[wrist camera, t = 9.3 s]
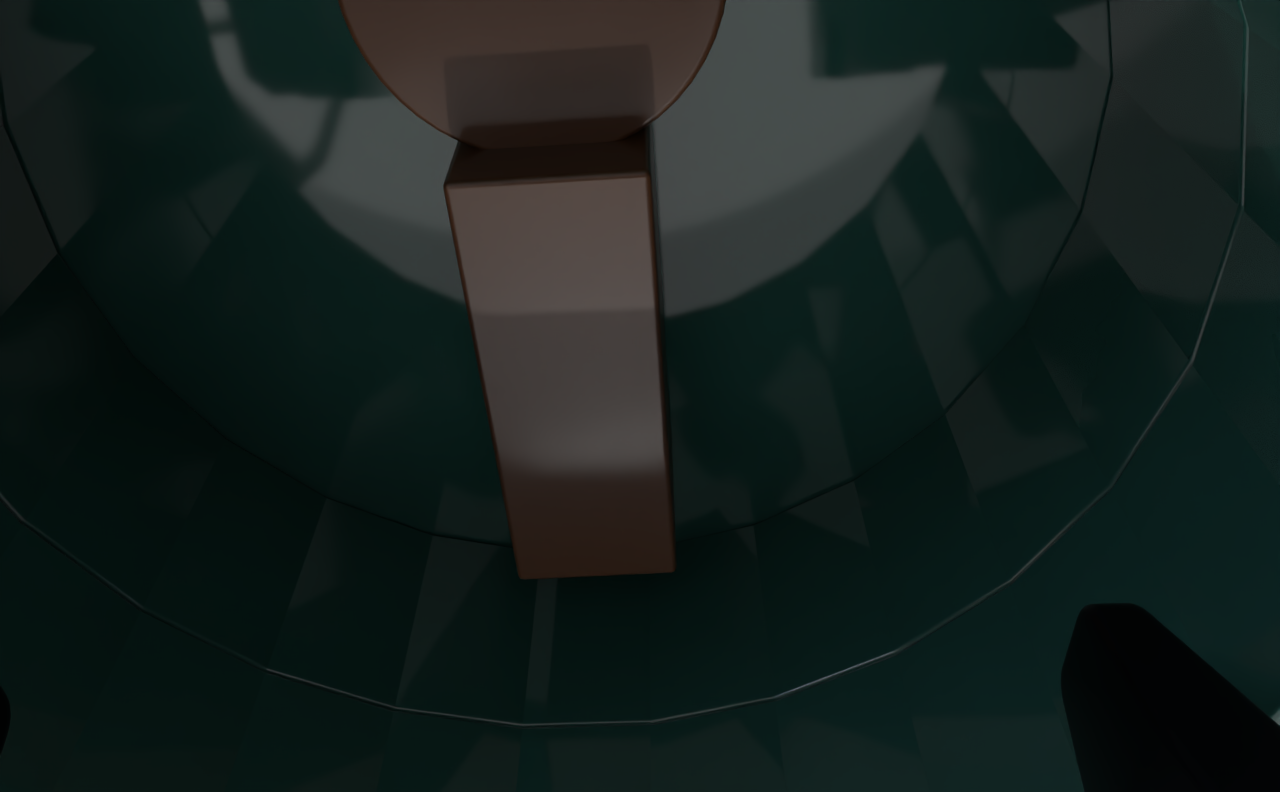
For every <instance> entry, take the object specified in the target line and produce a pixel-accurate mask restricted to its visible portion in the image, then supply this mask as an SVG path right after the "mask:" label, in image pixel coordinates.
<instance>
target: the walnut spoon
mask: <svg viewBox="0 0 1280 792" xmlns="http://www.w3.org/2000/svg"><path fill="white" fill-rule="evenodd" d="M338 2H339V6H340V9H341V13H342V15H343V17H344V20H345V22H346V24H347V27H348V29H349V31H350V34H351V36H352V38H353V40H354V42H355V43H356V45H357V47H358V48H359V50H360V52H361V54H362V55H363V57H364V59H365V61H366V62H367V63H368V65H369V66H370V67H371V69H372V70H373V71H374V73H375V74H376V75H377V77H378V78H379V80H380V81H381V82H382V83H383V84H384V85H385V86H386V87H387V89H388V90H389V91H390V92H391V93H392V94H393V95H394V96H395V97H396V98H397V99H398V100H399V101H400V102H401V103H402V104H403V105H404V106H406V107H407V108H408V109H409V110H410V111H411V112H413V113H414V114H415V115H416V116H417V117H419V118H420V119H422V120H423V121H425V122H426V123H428V124H429V125H431V126H432V127H434V128H435V129H437V130H438V131H440V132H442V133H444V134H446V135H448V136H449V137H451V138H453V139H455V140H457V141H458V142H457V145H456V148H455V151H454V154H453V157H452V160H451V163H450V166H449V169H448V172H447V175H446V178H445V181H444V185H443V190H444V195H445V200H446V205H447V211H448V216H449V221H450V226H451V231H452V236H453V242H454V247H455V252H456V257H457V262H458V267H459V273H460V278H461V283H462V288H463V293H464V298H465V304H466V309H467V314H468V319H469V324H470V330H471V335H472V340H473V345H474V350H475V355H476V361H477V366H478V371H479V376H480V381H481V386H482V392H483V397H484V402H485V407H486V412H487V417H488V423H489V428H490V433H491V438H492V443H493V448H494V454H495V459H496V464H497V469H498V474H499V479H500V485H501V490H502V495H503V500H504V505H505V510H506V516H507V521H508V526H509V531H510V536H511V542H512V547H513V552H514V557H515V562H516V567H517V573H518V576H519V578H520V579H523V580H527V579H549V578H570V577H592V576H613V575H635V574H656V573H672V572H675V570H676V567H677V559H676V533H675V507H674V481H673V458H672V442H671V425H670V409H669V393H668V377H667V361H666V345H665V329H664V313H663V297H662V281H661V265H660V249H659V233H658V217H657V201H656V185H655V169H654V153H653V137H652V122H653V121H655V120H656V119H657V118H659V117H660V116H661V115H662V114H663V113H664V112H665V111H666V110H668V109H669V108H670V107H671V106H672V105H673V104H674V103H675V102H676V101H677V100H678V99H679V98H680V96H681V95H682V94H683V93H684V91H685V90H686V89H687V88H688V86H689V85H690V84H691V83H692V82H693V80H694V78H695V77H696V75H697V74H698V72H699V70H700V69H701V67H702V66H703V64H704V62H705V61H706V59H707V56H708V54H709V52H710V50H711V48H712V45H713V43H714V41H715V39H716V36H717V33H718V30H719V27H720V23H721V20H722V17H723V14H724V9H725V3H726V0H338Z"/></svg>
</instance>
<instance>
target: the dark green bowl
mask: <svg viewBox="0 0 1280 792" xmlns="http://www.w3.org/2000/svg"><path fill="white" fill-rule="evenodd" d="M652 137H653V153H654V169H655V185H656V201H657V217H658V233H659V249H660V265H661V281H662V297H663V313H664V329H665V345H666V361H667V377H668V393H669V409H670V425H671V442H672V458H673V481H674V507H675V533H676V559H677V567H676V570H675V572H672V573H656V574H635V575H613V576H592V577H570V578H549V579H527V580H523V579H520V578H519V576H518V573H517V567H516V562H515V557H514V552H513V547H512V542H511V536H510V531H509V526H508V521H507V516H506V510H505V505H504V500H503V495H502V490H501V485H500V479H499V474H498V469H497V464H496V459H495V454H494V448H493V443H492V438H491V433H490V428H489V423H488V417H487V412H486V407H485V402H484V397H483V392H482V386H481V381H480V376H479V371H478V366H477V361H476V355H475V350H474V345H473V340H472V335H471V330H470V324H469V319H468V314H467V309H466V304H465V298H464V293H463V288H462V283H461V278H460V273H459V267H458V262H457V257H456V252H455V247H454V242H453V236H452V231H451V226H450V221H449V216H448V211H447V205H446V200H445V195H444V190H443V185H444V181H445V178H446V175H447V172H448V169H449V166H450V163H451V160H452V157H453V154H454V151H455V148H456V145H457V142H458V141H457V140H455V139H453V138H451V137H449V136H448V135H446V134H444V133H442V132H440V131H438V130H437V129H435V128H434V127H432V126H431V125H429V124H428V123H426V122H425V121H423V120H422V119H420V118H419V117H417V116H416V115H415V114H414V113H413V112H411V111H410V110H409V109H408V108H407V107H406V106H404V105H403V104H402V103H401V102H400V101H399V100H398V99H397V98H396V97H395V96H394V95H393V94H392V93H391V92H390V91H389V90H388V89H387V87H386V86H385V85H384V84H383V83H382V82H381V81H380V80H379V78H378V77H377V75H376V74H375V73H374V71H373V70H372V69H371V67H370V66H369V65H368V63H367V62H366V61H365V59H364V57H363V55H362V54H361V52H360V50H359V48H358V47H357V45H356V43H355V42H354V40H353V38H352V36H351V34H350V31H349V29H348V27H347V24H346V22H345V20H344V17H343V15H342V13H341V9H340V6H339V2H338V0H0V685H1V687H2V689H3V690H4V692H5V693H6V695H7V697H8V699H9V703H10V711H11V718H10V726H9V731H8V734H7V737H6V740H5V744H4V747H3V750H2V753H1V757H0V792H1084V788H1083V784H1082V780H1081V775H1080V771H1079V767H1078V763H1077V758H1076V754H1075V750H1074V746H1073V741H1072V737H1071V733H1070V729H1069V724H1068V720H1067V716H1066V712H1065V707H1064V703H1063V698H1062V692H1061V671H1062V667H1063V663H1064V660H1065V656H1066V653H1067V650H1068V646H1069V643H1070V640H1071V637H1072V633H1073V630H1074V627H1075V623H1076V620H1077V617H1078V615H1079V612H1080V611H1081V610H1082V609H1083V608H1084V607H1085V606H1086V605H1089V604H1102V603H1133V604H1136V605H1138V606H1140V607H1142V608H1144V609H1145V610H1147V611H1148V612H1149V613H1150V614H1151V615H1153V616H1154V617H1155V618H1156V619H1157V620H1158V621H1159V622H1161V623H1162V624H1163V625H1164V626H1165V627H1166V628H1168V629H1169V630H1170V631H1171V632H1172V633H1173V634H1175V635H1176V636H1177V637H1178V638H1179V639H1180V640H1181V641H1183V642H1184V643H1185V644H1186V645H1187V646H1188V647H1190V648H1191V649H1192V650H1193V651H1194V652H1195V653H1196V654H1198V655H1199V656H1200V657H1201V658H1202V659H1203V660H1205V661H1206V662H1207V663H1208V664H1209V665H1210V666H1212V667H1213V668H1214V669H1215V670H1216V671H1217V672H1218V673H1220V674H1221V675H1222V676H1223V677H1224V678H1225V679H1227V680H1228V681H1229V682H1230V683H1231V684H1232V685H1233V686H1235V687H1236V688H1237V689H1238V690H1239V691H1240V692H1242V693H1243V694H1244V695H1245V696H1246V697H1247V698H1249V699H1250V700H1251V701H1252V702H1253V703H1254V704H1255V705H1257V706H1258V707H1259V708H1260V709H1261V710H1262V711H1264V712H1265V713H1266V714H1267V715H1268V716H1269V717H1270V718H1272V719H1273V720H1274V721H1275V722H1276V723H1277V724H1279V725H1280V0H726V3H725V9H724V14H723V17H722V20H721V23H720V27H719V30H718V33H717V36H716V39H715V41H714V43H713V45H712V48H711V50H710V52H709V54H708V56H707V59H706V61H705V62H704V64H703V66H702V67H701V69H700V70H699V72H698V74H697V75H696V77H695V78H694V80H693V82H692V83H691V84H690V85H689V86H688V88H687V89H686V90H685V91H684V93H683V94H682V95H681V96H680V98H679V99H678V100H677V101H676V102H675V103H674V104H673V105H672V106H671V107H670V108H669V109H668V110H666V111H665V112H664V113H663V114H662V115H661V116H660V117H659V118H657V119H656V120H655V121H653V122H652Z"/></svg>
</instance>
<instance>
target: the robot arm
mask: <svg viewBox="0 0 1280 792" xmlns="http://www.w3.org/2000/svg"><path fill="white" fill-rule="evenodd" d="M1061 692H1062V698H1063V703H1064V707H1065V712H1066V716H1067V720H1068V724H1069V729H1070V733H1071V737H1072V741H1073V746H1074V750H1075V754H1076V758H1077V763H1078V767H1079V771H1080V775H1081V780H1082V784H1083V788H1084V792H1280V725H1279V724H1277V723H1276V722H1275V721H1274V720H1273V719H1272V718H1270V717H1269V716H1268V715H1267V714H1266V713H1265V712H1264V711H1262V710H1261V709H1260V708H1259V707H1258V706H1257V705H1255V704H1254V703H1253V702H1252V701H1251V700H1250V699H1249V698H1247V697H1246V696H1245V695H1244V694H1243V693H1242V692H1240V691H1239V690H1238V689H1237V688H1236V687H1235V686H1233V685H1232V684H1231V683H1230V682H1229V681H1228V680H1227V679H1225V678H1224V677H1223V676H1222V675H1221V674H1220V673H1218V672H1217V671H1216V670H1215V669H1214V668H1213V667H1212V666H1210V665H1209V664H1208V663H1207V662H1206V661H1205V660H1203V659H1202V658H1201V657H1200V656H1199V655H1198V654H1196V653H1195V652H1194V651H1193V650H1192V649H1191V648H1190V647H1188V646H1187V645H1186V644H1185V643H1184V642H1183V641H1181V640H1180V639H1179V638H1178V637H1177V636H1176V635H1175V634H1173V633H1172V632H1171V631H1170V630H1169V629H1168V628H1166V627H1165V626H1164V625H1163V624H1162V623H1161V622H1159V621H1158V620H1157V619H1156V618H1155V617H1154V616H1153V615H1151V614H1150V613H1149V612H1148V611H1147V610H1145V609H1144V608H1142V607H1140V606H1138V605H1136V604H1133V603H1102V604H1089V605H1086V606H1085V607H1084V608H1083V609H1082V610H1081V611H1080V612H1079V615H1078V617H1077V620H1076V623H1075V627H1074V630H1073V633H1072V637H1071V640H1070V643H1069V646H1068V650H1067V653H1066V656H1065V660H1064V663H1063V667H1062V671H1061ZM10 718H11V711H10V703H9V699H8V697H7V695H6V693H5V692H4V690H3V689H2V687H1V685H0V757H1V753H2V750H3V747H4V744H5V740H6V737H7V734H8V731H9V726H10Z"/></svg>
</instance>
